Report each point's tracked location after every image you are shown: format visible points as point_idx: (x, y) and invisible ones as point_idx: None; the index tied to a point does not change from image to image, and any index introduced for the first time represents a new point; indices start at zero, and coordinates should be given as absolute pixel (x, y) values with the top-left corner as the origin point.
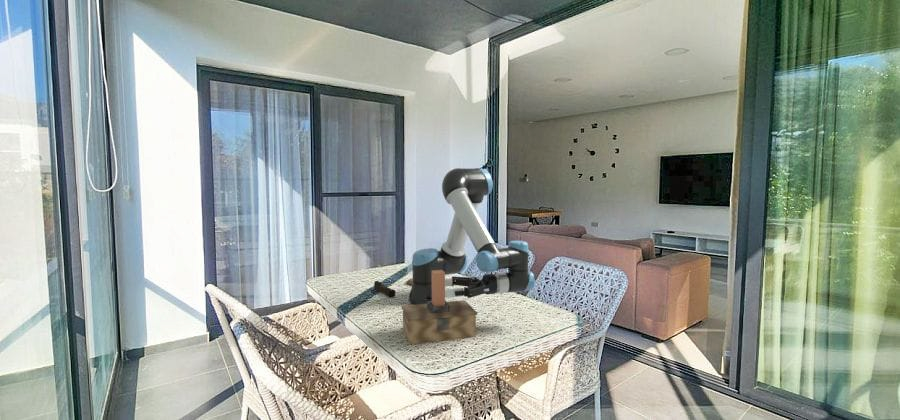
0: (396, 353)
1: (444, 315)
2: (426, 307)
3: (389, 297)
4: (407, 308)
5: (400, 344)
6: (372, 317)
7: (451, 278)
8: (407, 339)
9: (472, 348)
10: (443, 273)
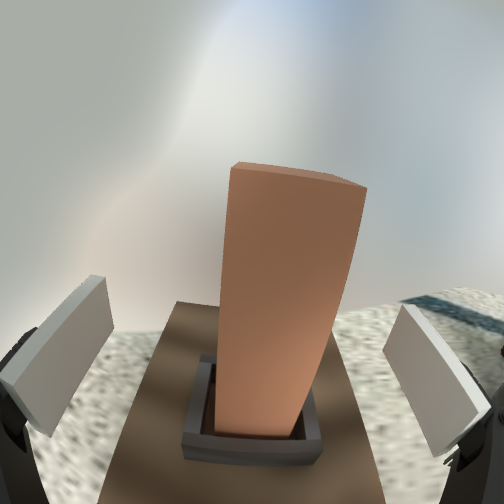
0: (150, 333)
1: (137, 406)
2: None
3: (502, 354)
4: None
5: None
6: (389, 331)
7: (486, 404)
8: None
9: (48, 487)
10: (232, 178)
